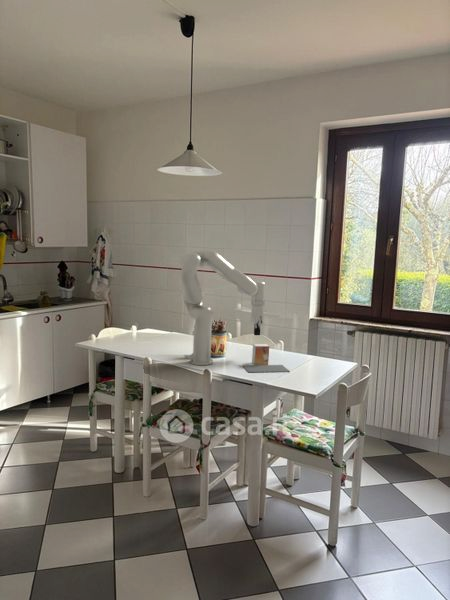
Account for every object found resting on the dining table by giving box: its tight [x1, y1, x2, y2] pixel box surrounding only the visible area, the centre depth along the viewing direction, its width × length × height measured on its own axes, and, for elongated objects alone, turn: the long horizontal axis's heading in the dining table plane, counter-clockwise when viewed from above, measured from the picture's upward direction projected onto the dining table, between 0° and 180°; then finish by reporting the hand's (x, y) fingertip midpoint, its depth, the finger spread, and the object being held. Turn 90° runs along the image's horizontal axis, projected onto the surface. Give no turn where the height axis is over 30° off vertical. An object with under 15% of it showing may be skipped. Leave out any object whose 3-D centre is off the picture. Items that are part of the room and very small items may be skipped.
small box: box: [251, 343, 270, 365], centre depth 245 cm, size 8×6×10 cm
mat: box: [242, 364, 291, 374], centre depth 235 cm, size 22×12×1 cm, turn 102°
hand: (257, 334), depth 255 cm, fingers closed
